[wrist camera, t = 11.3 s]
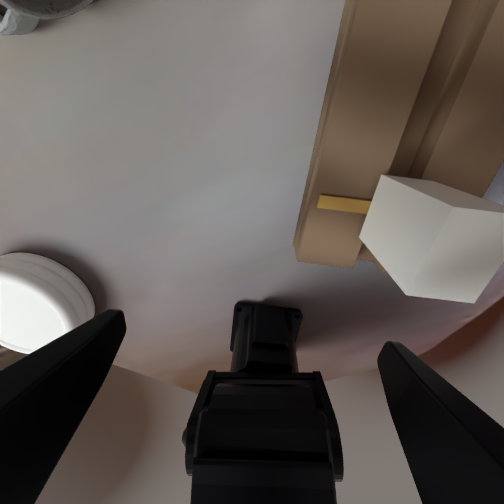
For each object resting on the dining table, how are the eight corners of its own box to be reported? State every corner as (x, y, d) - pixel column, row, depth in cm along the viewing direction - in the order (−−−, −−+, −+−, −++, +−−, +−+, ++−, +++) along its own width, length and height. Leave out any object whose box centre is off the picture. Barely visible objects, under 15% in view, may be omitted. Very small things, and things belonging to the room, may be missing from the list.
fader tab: (393, 233, 17) (474, 303, 11) (351, 228, 17) (406, 295, 10) (418, 175, 15) (535, 216, 9) (371, 169, 15) (453, 206, 9)
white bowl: (107, 334, 26) (86, 362, 23) (17, 326, 26) (-16, 353, 23) (82, 254, 22) (52, 276, 19) (-27, 245, 22) (-75, 266, 19)
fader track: (412, 257, 20) (437, 279, 17) (293, 242, 20) (297, 262, 17) (632, -182, 10) (777, -303, 7) (392, -217, 10) (444, -353, 7)
